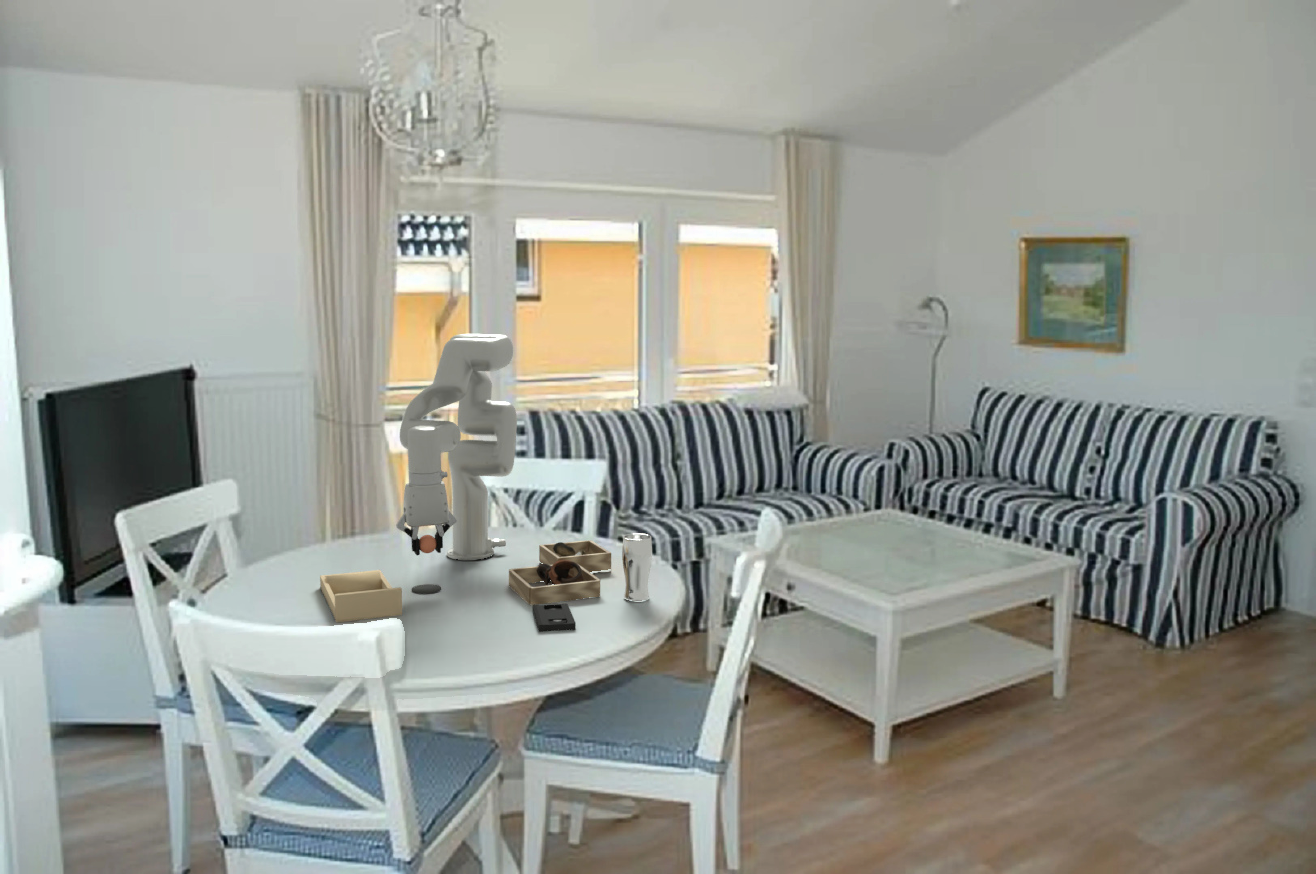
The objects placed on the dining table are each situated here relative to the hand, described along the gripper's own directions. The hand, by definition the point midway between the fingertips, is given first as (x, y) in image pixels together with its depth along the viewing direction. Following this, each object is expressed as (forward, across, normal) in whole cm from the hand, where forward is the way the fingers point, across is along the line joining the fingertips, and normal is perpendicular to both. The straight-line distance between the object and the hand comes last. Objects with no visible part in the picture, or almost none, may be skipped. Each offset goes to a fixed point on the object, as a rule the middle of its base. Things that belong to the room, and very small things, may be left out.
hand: (427, 551), depth 239 cm
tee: (+9, +1, +1) cm, 9 cm away
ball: (-2, 0, 0) cm, 2 cm away
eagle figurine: (+11, -37, -5) cm, 39 cm away
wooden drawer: (+13, +17, +4) cm, 21 cm away
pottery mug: (+10, -29, +12) cm, 33 cm away
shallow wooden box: (+9, -27, +13) cm, 32 cm away
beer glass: (+9, -43, +26) cm, 51 cm away
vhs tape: (+9, -20, +34) cm, 40 cm away
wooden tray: (+10, -39, -5) cm, 41 cm away
